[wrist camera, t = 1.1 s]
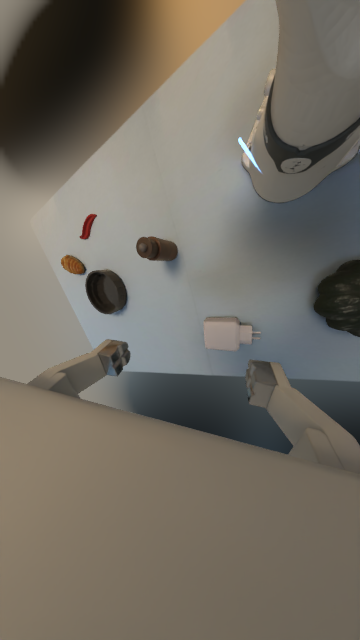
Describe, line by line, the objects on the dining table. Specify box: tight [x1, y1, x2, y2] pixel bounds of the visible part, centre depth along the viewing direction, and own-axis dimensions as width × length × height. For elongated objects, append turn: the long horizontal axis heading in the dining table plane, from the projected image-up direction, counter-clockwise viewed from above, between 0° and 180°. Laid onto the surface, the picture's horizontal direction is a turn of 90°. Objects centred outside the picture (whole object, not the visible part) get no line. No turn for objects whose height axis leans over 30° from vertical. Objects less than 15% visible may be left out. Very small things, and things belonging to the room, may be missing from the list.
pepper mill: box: [136, 237, 178, 261], centre depth 37 cm, size 5×5×14 cm
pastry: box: [61, 255, 84, 274], centre depth 59 cm, size 9×7×4 cm
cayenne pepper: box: [80, 214, 97, 239], centre depth 51 cm, size 12×5×2 cm, turn 114°
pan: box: [85, 270, 126, 314], centre depth 56 cm, size 16×16×4 cm
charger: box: [204, 318, 261, 351], centre depth 43 cm, size 5×9×15 cm
